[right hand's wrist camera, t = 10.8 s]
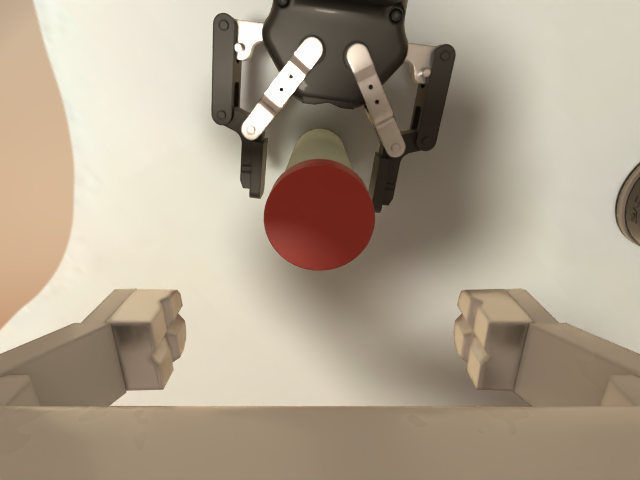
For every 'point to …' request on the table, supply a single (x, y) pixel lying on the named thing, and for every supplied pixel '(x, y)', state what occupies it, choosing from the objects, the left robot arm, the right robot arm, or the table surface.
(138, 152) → the table surface
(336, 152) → the olive green cylinder
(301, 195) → the lid
